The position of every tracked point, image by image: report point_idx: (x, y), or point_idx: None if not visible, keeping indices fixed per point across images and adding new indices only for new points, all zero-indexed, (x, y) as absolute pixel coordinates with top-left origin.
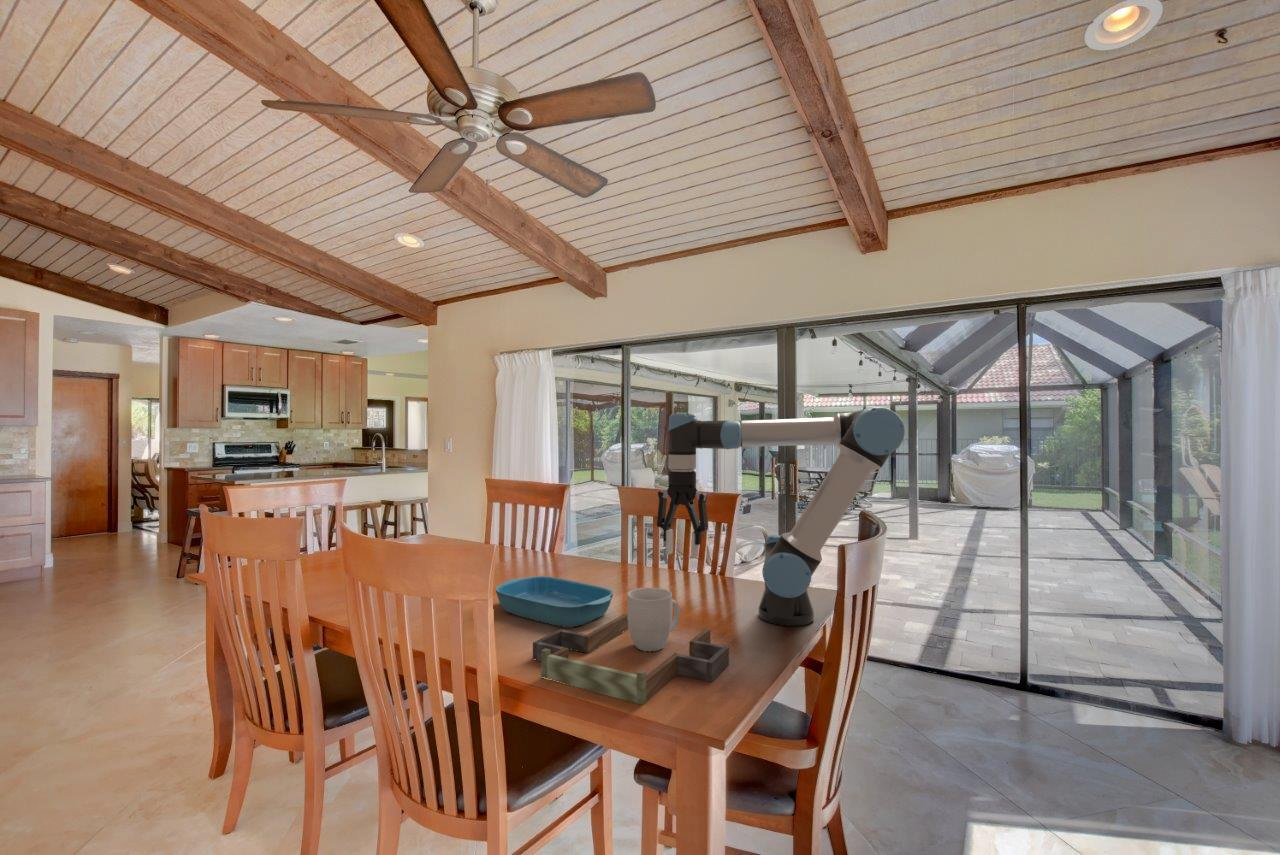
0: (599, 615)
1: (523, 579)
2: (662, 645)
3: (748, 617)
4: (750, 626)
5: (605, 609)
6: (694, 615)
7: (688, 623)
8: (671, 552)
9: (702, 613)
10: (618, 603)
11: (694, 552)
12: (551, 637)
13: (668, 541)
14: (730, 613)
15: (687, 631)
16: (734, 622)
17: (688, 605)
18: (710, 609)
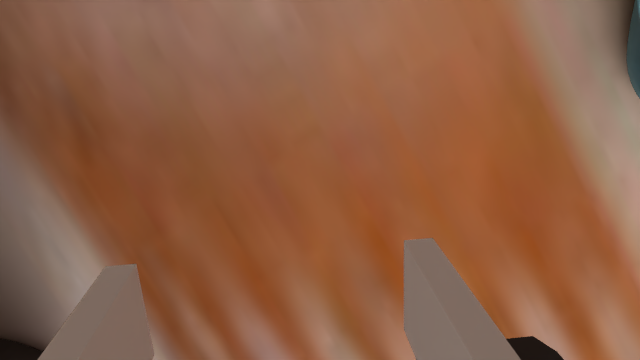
0: (634, 5)
1: None
2: None
3: None
4: (45, 272)
5: (633, 44)
6: (294, 265)
7: (267, 171)
8: (406, 306)
9: (279, 301)
10: (630, 226)
11: (85, 303)
12: None
13: (456, 324)
14: (188, 355)
15: (221, 84)
16: None
17: (370, 349)
18: (275, 354)
